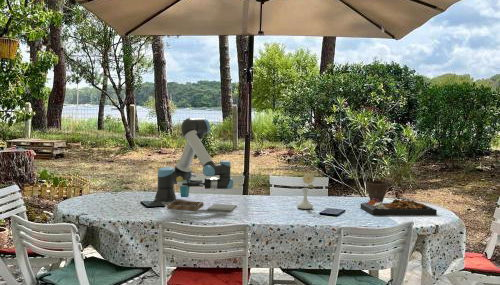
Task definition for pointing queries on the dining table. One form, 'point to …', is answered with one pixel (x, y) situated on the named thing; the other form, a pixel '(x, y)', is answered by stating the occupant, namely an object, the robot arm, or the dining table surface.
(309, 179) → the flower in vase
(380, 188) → the plant pot
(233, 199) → the dining table surface
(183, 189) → the cup
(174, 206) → the wooden picture frame
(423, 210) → the food platter
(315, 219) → the dining table surface
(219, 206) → the board
